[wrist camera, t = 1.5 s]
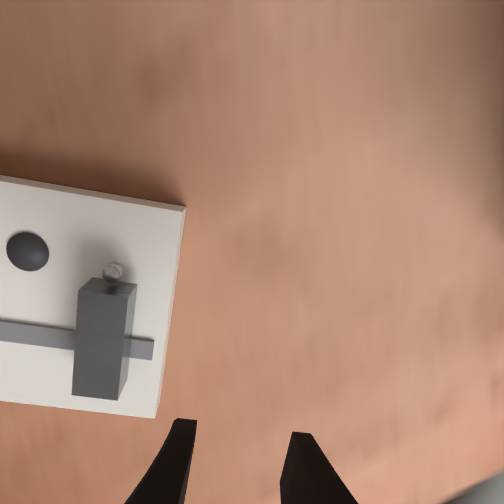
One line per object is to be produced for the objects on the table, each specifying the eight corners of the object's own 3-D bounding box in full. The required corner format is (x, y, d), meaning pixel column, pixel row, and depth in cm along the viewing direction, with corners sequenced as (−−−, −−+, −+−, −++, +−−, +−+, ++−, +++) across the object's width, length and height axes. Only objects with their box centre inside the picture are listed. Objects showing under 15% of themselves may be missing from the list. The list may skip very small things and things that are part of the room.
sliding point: (85, 374, 18) (71, 395, 17) (93, 258, 17) (79, 269, 15) (127, 379, 18) (117, 400, 17) (139, 265, 17) (130, 277, 15)
